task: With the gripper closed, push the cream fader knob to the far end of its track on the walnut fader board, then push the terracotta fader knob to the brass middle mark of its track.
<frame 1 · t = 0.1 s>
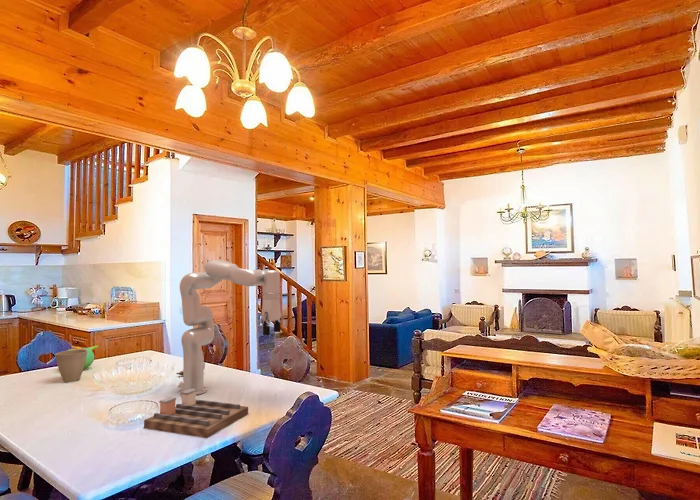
hand: (271, 333, 193), 31 cm above the table, fingers open, 9 cm apart
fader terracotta: (167, 406, 166), point 6 cm above the table, slide at 0.0 cm
toy bird: (78, 370, 258), on the table
plant pot: (71, 381, 232), on the table
fader board: (198, 420, 168), on the table
ceramic sculpture: (192, 375, 242), on the table
fader cream: (188, 398, 177), point 6 cm above the table, slide at 0.0 cm
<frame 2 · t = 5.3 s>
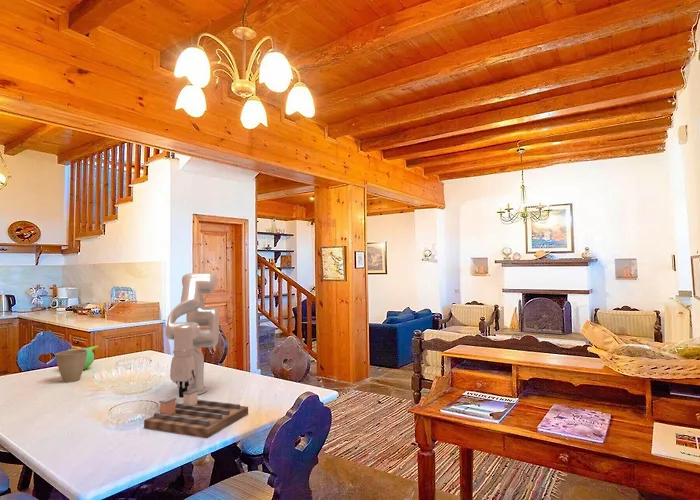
hand: (183, 396, 178), 7 cm above the table, fingers closed
fader cream: (190, 398, 177), point 6 cm above the table, slide at 0.8 cm, touching gripper
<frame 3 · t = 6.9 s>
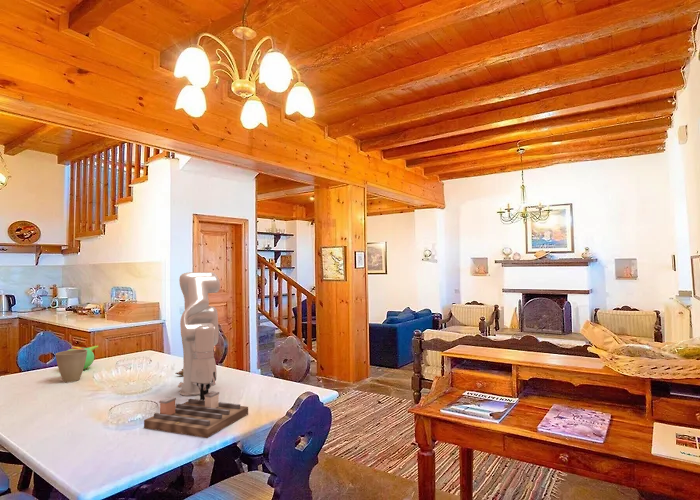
hand: (204, 399, 175), 7 cm above the table, fingers closed
fader cream: (211, 400, 173), point 6 cm above the table, slide at 11.9 cm, touching gripper
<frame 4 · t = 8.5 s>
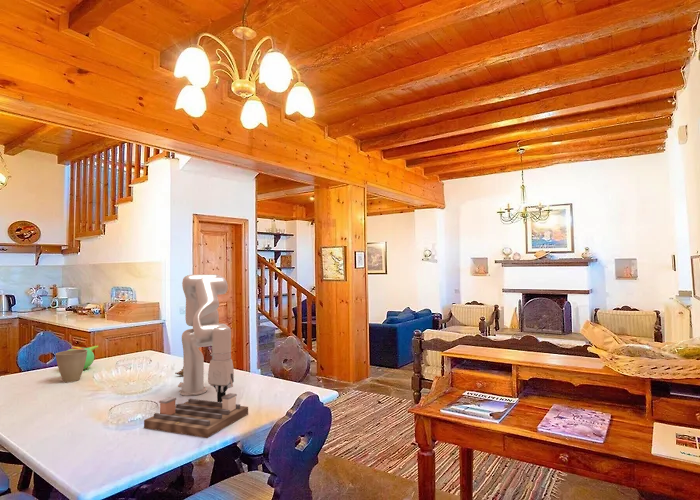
hand: (221, 401, 172), 7 cm above the table, fingers closed
fader cream: (229, 402, 170), point 6 cm above the table, slide at 20.5 cm, touching gripper
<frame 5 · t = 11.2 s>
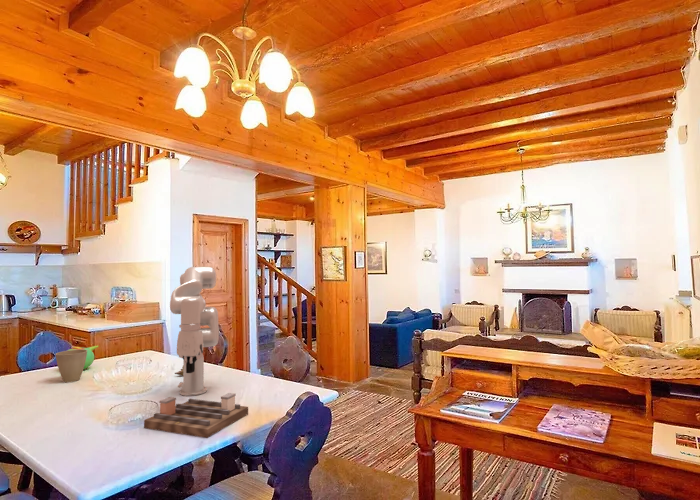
hand: (190, 372, 171), 19 cm above the table, fingers closed
fader cream: (228, 402, 171), point 6 cm above the table, slide at 20.1 cm
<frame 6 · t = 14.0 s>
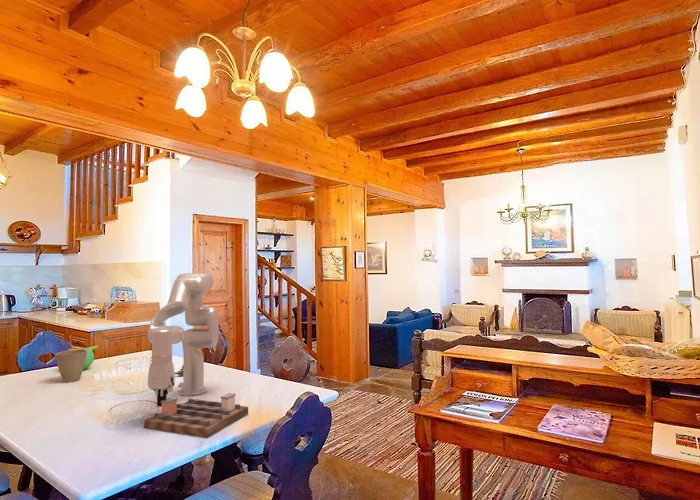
hand: (161, 405, 167), 7 cm above the table, fingers closed
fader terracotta: (169, 407, 166), point 6 cm above the table, slide at 0.7 cm, touching gripper
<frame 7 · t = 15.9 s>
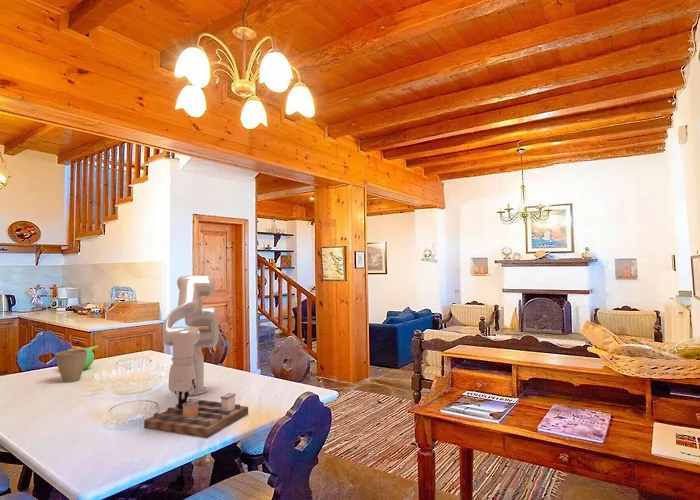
hand: (182, 408, 164), 7 cm above the table, fingers closed
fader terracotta: (190, 409, 162), point 6 cm above the table, slide at 11.3 cm, touching gripper
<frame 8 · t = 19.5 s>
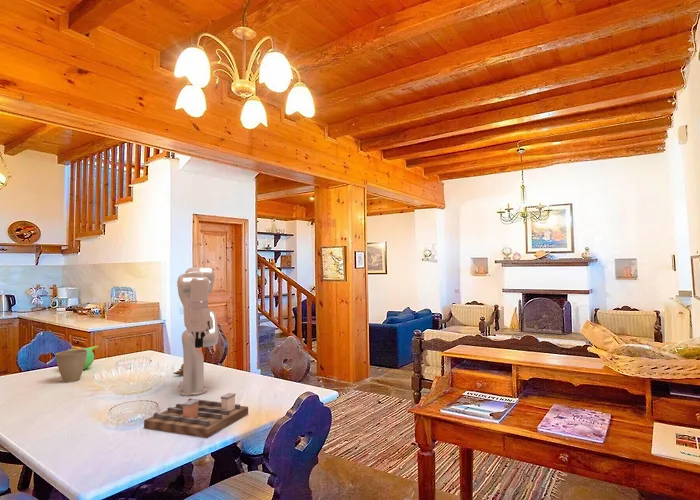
hand: (199, 347, 183), 27 cm above the table, fingers closed
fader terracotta: (190, 409, 162), point 6 cm above the table, slide at 11.4 cm
at the end: fader cream slide at 20.1 cm; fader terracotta slide at 11.4 cm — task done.
